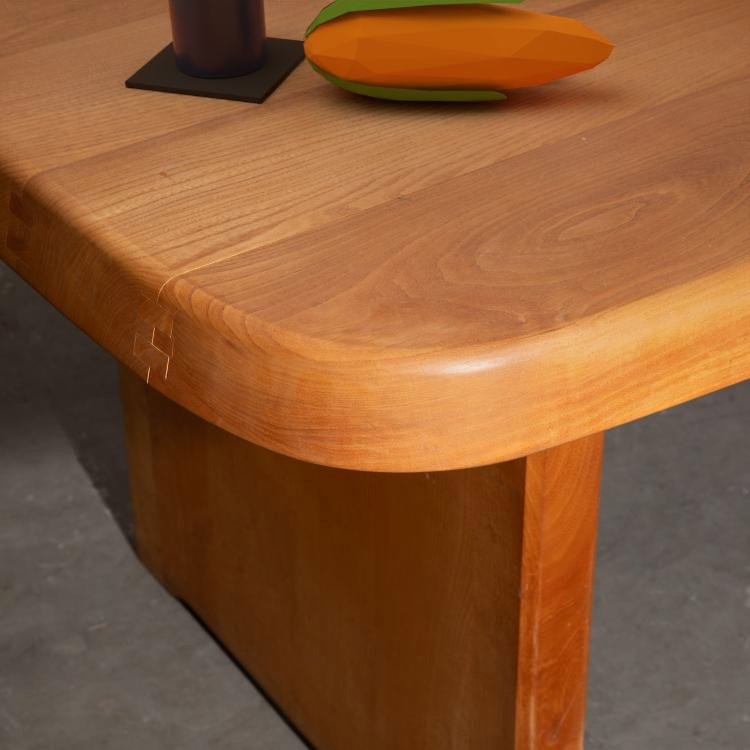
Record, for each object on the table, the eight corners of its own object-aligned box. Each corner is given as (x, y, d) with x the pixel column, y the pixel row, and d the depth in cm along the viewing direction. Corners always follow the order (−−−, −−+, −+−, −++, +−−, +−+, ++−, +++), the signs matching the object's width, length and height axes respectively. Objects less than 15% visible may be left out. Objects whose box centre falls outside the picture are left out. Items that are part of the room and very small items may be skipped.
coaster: (315, 47, 103) (315, 41, 103) (261, 103, 96) (260, 97, 95) (187, 33, 106) (187, 28, 106) (125, 87, 98) (124, 81, 98)
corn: (307, -40, 95) (615, -39, 93) (314, 66, 100) (607, 69, 98) (293, 9, 89) (620, 10, 88) (301, 119, 94) (612, 123, 92)
